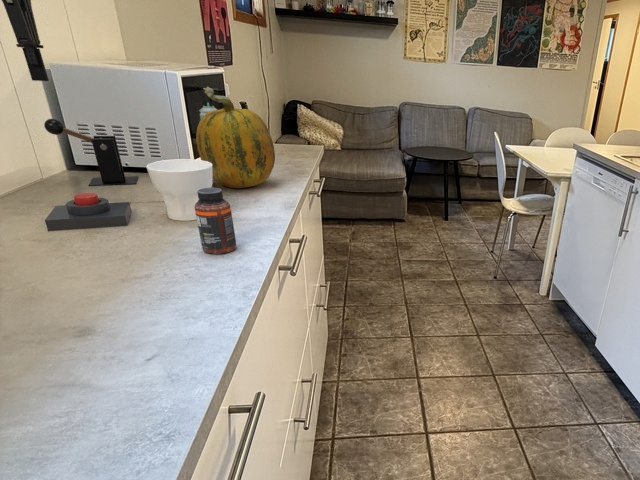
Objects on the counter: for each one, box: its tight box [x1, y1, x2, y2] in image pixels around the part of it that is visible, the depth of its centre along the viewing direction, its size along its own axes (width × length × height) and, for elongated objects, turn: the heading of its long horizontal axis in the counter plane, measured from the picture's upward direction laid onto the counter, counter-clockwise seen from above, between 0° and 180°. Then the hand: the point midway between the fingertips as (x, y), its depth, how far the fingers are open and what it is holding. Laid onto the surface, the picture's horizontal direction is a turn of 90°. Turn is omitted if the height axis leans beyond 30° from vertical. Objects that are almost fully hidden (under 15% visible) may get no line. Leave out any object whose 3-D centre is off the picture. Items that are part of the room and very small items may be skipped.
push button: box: [73, 192, 100, 205], centre depth 96 cm, size 4×4×2 cm
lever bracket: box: [87, 135, 139, 187], centre depth 119 cm, size 10×8×12 cm
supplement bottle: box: [194, 187, 237, 255], centre depth 86 cm, size 6×6×11 cm
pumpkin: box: [195, 86, 276, 189], centre depth 124 cm, size 19×19×25 cm
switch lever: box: [43, 118, 104, 144], centre depth 114 cm, size 13×4×4 cm, turn 118°
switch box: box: [44, 197, 133, 232], centre depth 97 cm, size 13×10×4 cm
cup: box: [146, 158, 213, 222], centre depth 102 cm, size 12×12×11 cm
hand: (40, 80), depth 106 cm, fingers closed
